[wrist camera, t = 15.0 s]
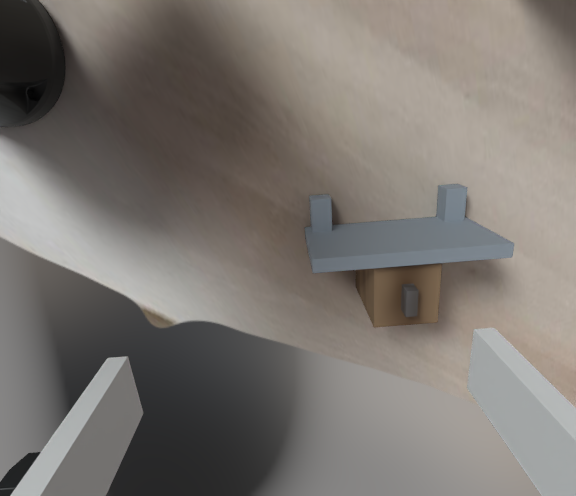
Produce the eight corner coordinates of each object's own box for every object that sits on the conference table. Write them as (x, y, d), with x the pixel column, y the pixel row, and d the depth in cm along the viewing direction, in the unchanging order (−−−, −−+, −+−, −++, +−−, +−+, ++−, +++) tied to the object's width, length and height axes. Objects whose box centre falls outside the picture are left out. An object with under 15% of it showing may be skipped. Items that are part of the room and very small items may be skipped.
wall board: (305, 238, 47) (312, 273, 36) (302, 196, 45) (309, 220, 34) (460, 225, 46) (512, 257, 36) (464, 183, 45) (520, 203, 34)
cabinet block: (355, 288, 49) (377, 337, 38) (355, 238, 47) (378, 275, 36) (407, 284, 49) (443, 332, 38) (409, 234, 47) (448, 269, 36)
